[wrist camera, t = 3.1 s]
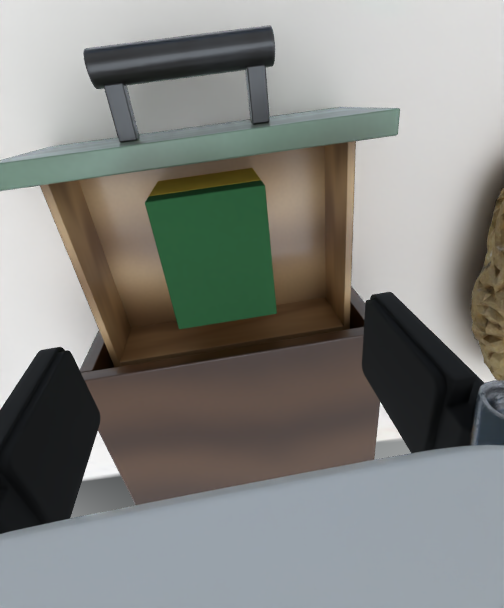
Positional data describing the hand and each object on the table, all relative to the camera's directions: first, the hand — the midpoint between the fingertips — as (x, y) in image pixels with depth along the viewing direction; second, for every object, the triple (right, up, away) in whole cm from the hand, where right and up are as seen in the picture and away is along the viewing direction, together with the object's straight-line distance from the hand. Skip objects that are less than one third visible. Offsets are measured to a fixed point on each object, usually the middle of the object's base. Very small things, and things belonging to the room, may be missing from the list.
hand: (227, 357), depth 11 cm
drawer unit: (0, -2, +18) cm, 18 cm away
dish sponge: (-1, +6, +11) cm, 12 cm away
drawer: (-2, +8, +11) cm, 14 cm away
